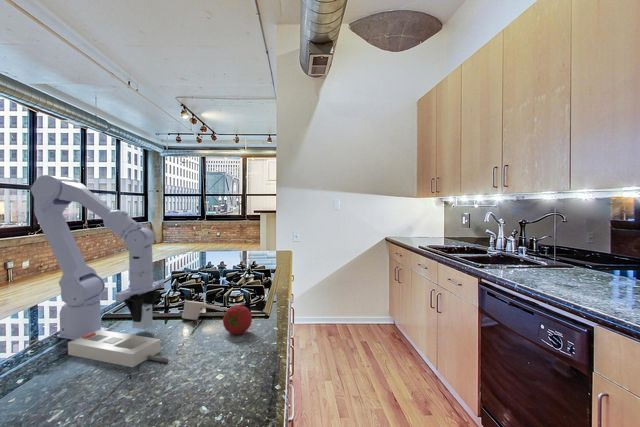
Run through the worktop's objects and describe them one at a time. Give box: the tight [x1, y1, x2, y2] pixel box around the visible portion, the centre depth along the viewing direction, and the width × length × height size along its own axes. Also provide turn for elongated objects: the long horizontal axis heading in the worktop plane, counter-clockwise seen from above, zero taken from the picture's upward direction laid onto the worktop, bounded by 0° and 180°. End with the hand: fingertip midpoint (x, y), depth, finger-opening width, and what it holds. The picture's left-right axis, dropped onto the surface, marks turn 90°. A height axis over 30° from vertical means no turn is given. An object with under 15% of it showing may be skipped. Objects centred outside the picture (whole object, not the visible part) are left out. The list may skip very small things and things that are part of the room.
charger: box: [131, 303, 154, 330], centre depth 91 cm, size 4×3×6 cm
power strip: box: [67, 330, 170, 368], centre depth 78 cm, size 26×8×4 cm, turn 72°
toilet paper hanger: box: [181, 300, 229, 320], centre depth 106 cm, size 20×5×16 cm
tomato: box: [222, 304, 253, 336], centre depth 90 cm, size 8×8×8 cm
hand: (142, 319), depth 91 cm, fingers closed on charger, 3 cm apart
